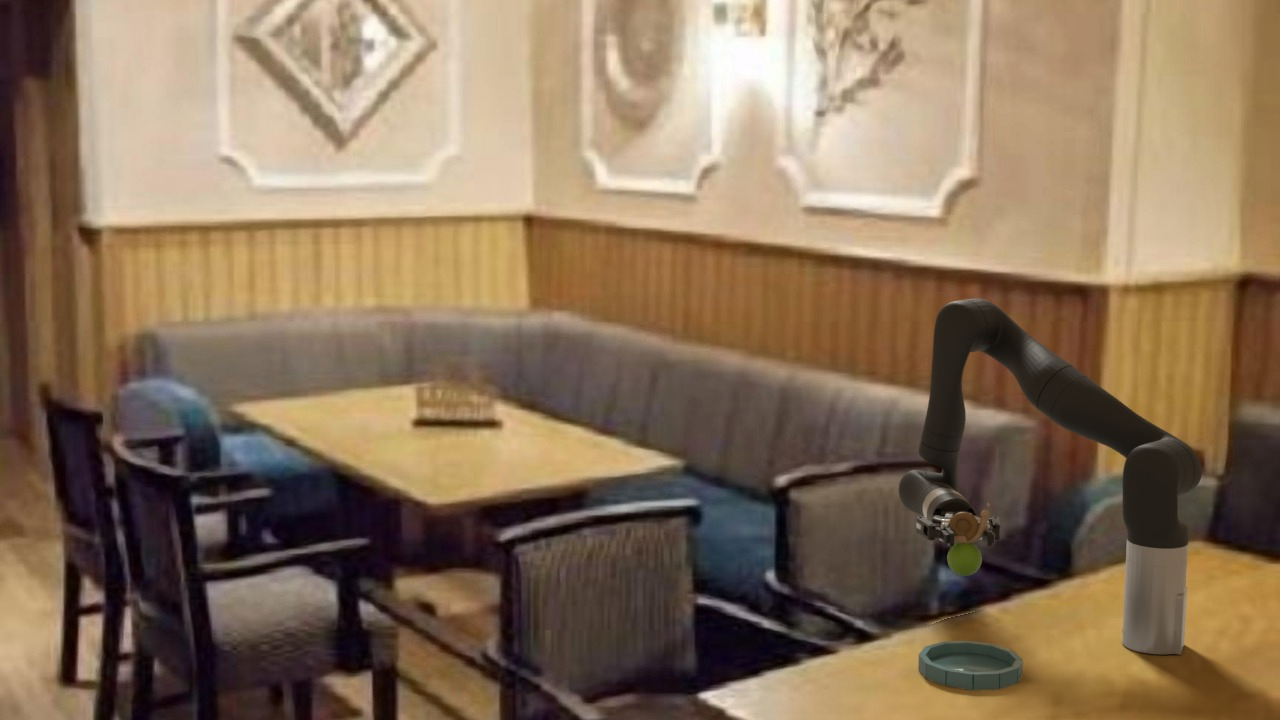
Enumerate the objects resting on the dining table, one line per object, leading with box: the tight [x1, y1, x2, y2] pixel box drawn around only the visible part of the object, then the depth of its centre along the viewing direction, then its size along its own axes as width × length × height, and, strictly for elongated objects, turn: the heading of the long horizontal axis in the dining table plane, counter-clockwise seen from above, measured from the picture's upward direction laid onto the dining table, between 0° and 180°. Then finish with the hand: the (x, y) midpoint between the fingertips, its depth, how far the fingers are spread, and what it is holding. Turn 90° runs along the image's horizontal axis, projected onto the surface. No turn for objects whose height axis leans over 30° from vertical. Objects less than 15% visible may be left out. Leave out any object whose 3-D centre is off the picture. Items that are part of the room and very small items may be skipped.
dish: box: [918, 640, 1024, 691], centre depth 231 cm, size 15×15×2 cm
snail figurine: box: [946, 502, 991, 577], centre depth 243 cm, size 5×6×12 cm
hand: (971, 539), depth 240 cm, fingers closed on snail figurine, 5 cm apart
